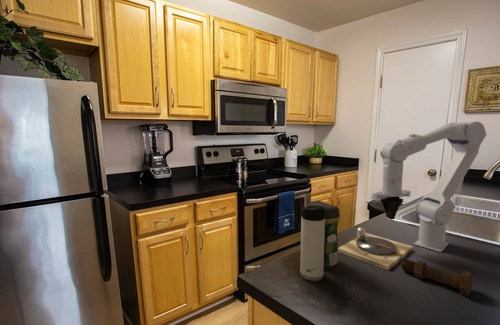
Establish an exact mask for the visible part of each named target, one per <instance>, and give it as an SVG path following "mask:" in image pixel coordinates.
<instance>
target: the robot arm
mask: <svg viewBox="0 0 500 325" xmlns="http://www.w3.org/2000/svg"><path fill="white" fill-rule="evenodd" d="M486 131H487V130H486V128H485V126H484V124H483V123H482V122H480V121H472V122H471V121H470V122H468V121H467V122H466V121H465V122H450V123H447V124H444V125H442V126H440V127H438V128H436V129H434V130H432V131H429V132H426V133H424V134H421V135H420V134H417V133H416V134H415V133H410V134H408V137H406V138H403V139H397V140H396V141H395V142H394V143H387V144H385V145H384V146H383V147H382V149H381V150H380V151H379V153H380V157H381V158H382V161H383V162H382V163H383V168H382V189H381V191H377V192H373V193H372V194H371V195H372V196H371V199H372V200H374V201H379V200H380V203H381V204H382V206H383V209H384V213H385V217H386V219H389V220H395V218H396V215H397V212H398V210H399V209H400V206H402V204H403V203H404V199H403V198H402V197H407V198H408V197H411V190H407V189H403V172H404V161H405V160H407V158H408V157H409V156H411V155H414V154H416V153H417V154H418V153H420V152H423V151H424V150H425V149H426V148H427V145H430V144H433V143H436V142H440V141H442V140H445V139H446V140H447V142H448V143H449V145H450V147H452V148H453V149H454V150H455V153H454V155H453V157H452V158H451V160H450V162H449V163H448V165H447V167H446V168H445V170H444V172H443V174H442V175H441V177H440V178H439V180H438V182H437V183H436V185H435V187H434V189H433V190H432V191H431V192H428V193H425V194H424V195H423V197H422V198H421V199H419V201H417V202H416V204H415V211H416V213H417V214H418V218H419V227H418V231H419V233H418V239H417V240H416V241H415V242H413V245H414V246H418V247H421V248H425V249H429V250H432V251H435V252H439V253H442V252H443V251H444V250H445V249H446V248H447V246H448V245H449V242H446V233H447V226H446V225H447V224H448V223H449V222H450V221H451V220H452V218H453V213H454V212H453V211H454V209H455V208H456V206H455V205H456V204H454V202H453V200H452V198H453V197H454V194H455V193H456V192H457V190H458V188H459V186H460V185H461V183H462V181H463V180H464V178H465V176H466V175H467V173H468V171H469V169H470V168H471V166H472V165H473V162H474V161H475V159H476V158H477V156H478V154H479V150H480V148H481V145H482V143H483V141H484V140H485V139H486V137H487V135H488V134H487V132H486Z"/></svg>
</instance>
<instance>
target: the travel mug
mask: <svg viewBox="0 0 500 325" xmlns="http://www.w3.org/2000/svg"><path fill="white" fill-rule="evenodd" d="M300 216H301V217H300V218H301V219H300V220H301V221H300V223H301V226H300V267H299V269H300V272H299V274H300V276H301V277H302V279H303V278H304V279H305V280H308V281H311V282H318V281H320V280H323V278H324V268H325V267H324V234H325V207H323V206H309V207H308V206H302V207H301V215H300Z"/></svg>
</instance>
